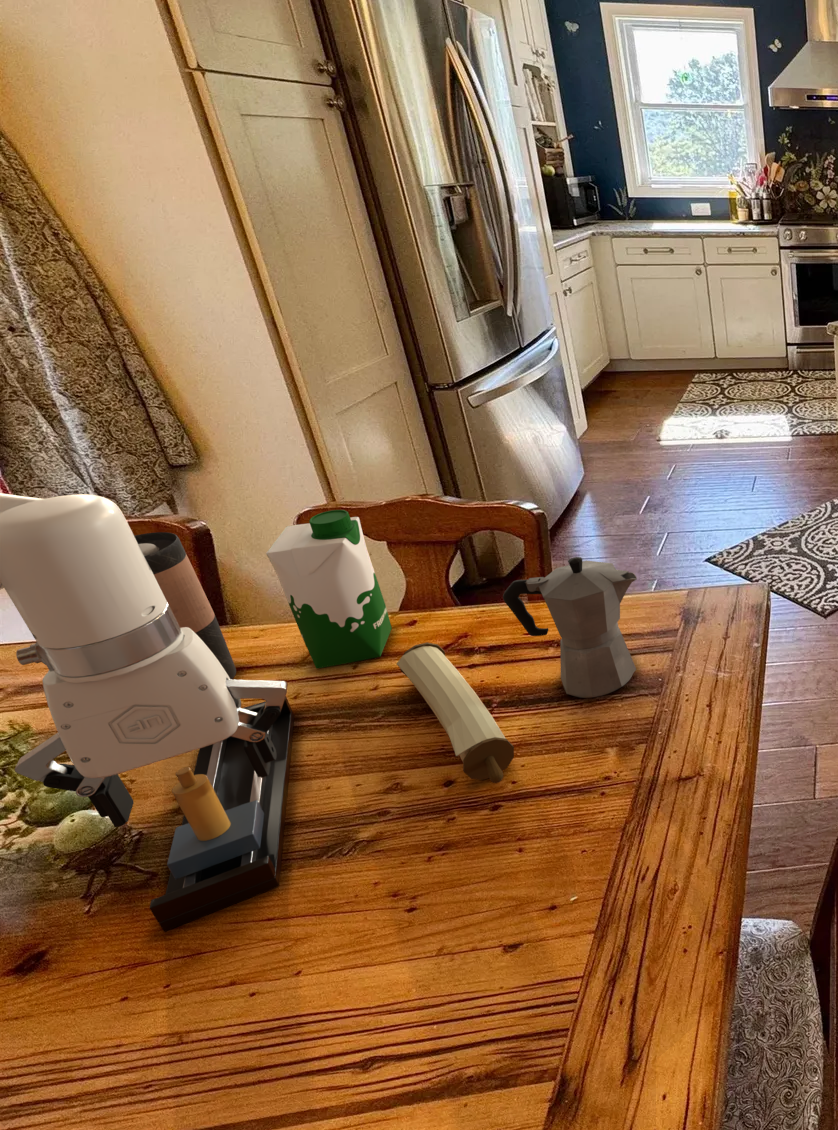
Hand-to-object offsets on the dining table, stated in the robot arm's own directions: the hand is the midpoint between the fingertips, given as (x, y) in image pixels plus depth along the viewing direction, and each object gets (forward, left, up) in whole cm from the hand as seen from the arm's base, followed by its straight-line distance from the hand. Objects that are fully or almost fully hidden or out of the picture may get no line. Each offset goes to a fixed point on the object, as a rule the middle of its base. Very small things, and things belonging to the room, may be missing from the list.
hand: (198, 790), depth 71 cm
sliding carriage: (0, 0, -7) cm, 7 cm away
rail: (0, +8, -9) cm, 12 cm away
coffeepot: (+35, +10, -10) cm, 37 cm away
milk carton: (+10, +34, -10) cm, 37 cm away
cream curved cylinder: (+20, +10, -10) cm, 24 cm away
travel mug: (-6, +36, -10) cm, 38 cm away
